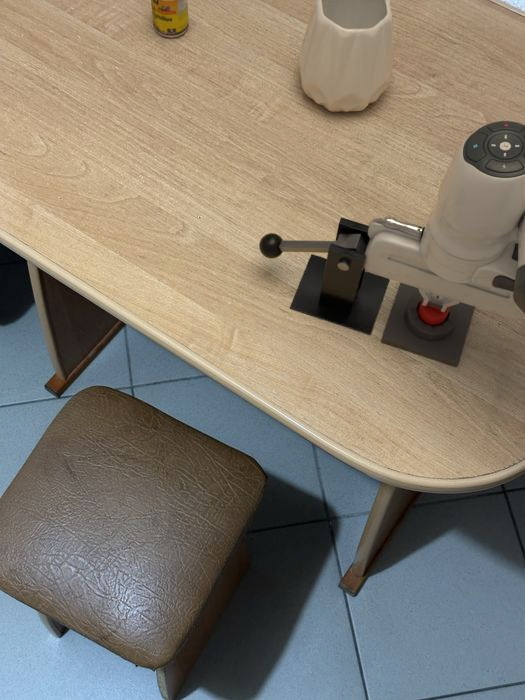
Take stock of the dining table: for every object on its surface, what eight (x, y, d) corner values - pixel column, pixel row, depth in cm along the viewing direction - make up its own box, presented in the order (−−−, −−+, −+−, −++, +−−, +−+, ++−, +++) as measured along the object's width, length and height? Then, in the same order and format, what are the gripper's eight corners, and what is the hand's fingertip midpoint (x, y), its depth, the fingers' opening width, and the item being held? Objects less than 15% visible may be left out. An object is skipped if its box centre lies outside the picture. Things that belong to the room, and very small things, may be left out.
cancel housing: (472, 307, 111) (480, 292, 107) (454, 371, 107) (462, 357, 103) (400, 284, 112) (405, 268, 109) (379, 346, 108) (384, 331, 104)
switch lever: (261, 263, 107) (251, 247, 105) (270, 243, 109) (260, 227, 106) (361, 266, 100) (353, 249, 98) (369, 245, 101) (361, 228, 99)
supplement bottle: (146, 29, 132) (140, -26, 123) (168, 9, 134) (164, -47, 125) (174, 44, 131) (169, -10, 122) (196, 25, 133) (193, -31, 124)
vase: (393, 120, 125) (412, 41, 112) (299, 123, 125) (307, 43, 111) (381, 51, 132) (398, -31, 118) (292, 54, 131) (298, -29, 117)
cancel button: (449, 305, 107) (452, 298, 105) (442, 329, 105) (445, 322, 104) (422, 297, 107) (425, 290, 106) (415, 320, 106) (417, 313, 104)
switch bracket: (289, 312, 110) (296, 254, 97) (310, 259, 114) (320, 196, 101) (369, 339, 108) (386, 283, 96) (388, 283, 112) (407, 223, 100)
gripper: (364, 235, 92) (347, 298, 104) (546, 293, 89) (507, 351, 102) (380, 191, 95) (362, 258, 107) (557, 247, 92) (518, 309, 104)
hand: (434, 304), depth 104 cm, fingers closed
